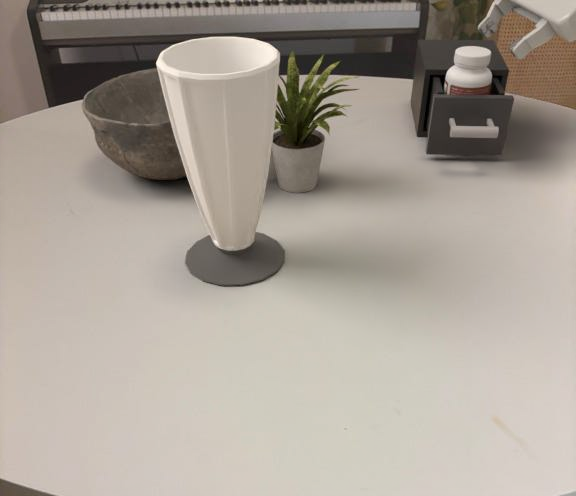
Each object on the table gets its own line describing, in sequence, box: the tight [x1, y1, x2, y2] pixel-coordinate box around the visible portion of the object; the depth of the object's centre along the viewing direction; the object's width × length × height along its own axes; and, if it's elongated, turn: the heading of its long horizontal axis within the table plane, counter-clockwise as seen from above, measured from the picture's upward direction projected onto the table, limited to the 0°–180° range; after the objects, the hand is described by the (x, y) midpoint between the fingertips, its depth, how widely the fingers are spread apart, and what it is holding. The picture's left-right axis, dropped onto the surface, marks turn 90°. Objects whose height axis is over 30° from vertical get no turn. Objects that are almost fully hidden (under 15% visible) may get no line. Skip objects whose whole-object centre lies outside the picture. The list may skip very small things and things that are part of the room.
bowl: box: [81, 67, 187, 181], centre depth 87 cm, size 21×21×10 cm
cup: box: [155, 36, 285, 287], centre depth 66 cm, size 12×12×22 cm
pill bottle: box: [443, 46, 492, 95], centre depth 88 cm, size 6×6×11 cm
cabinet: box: [410, 39, 510, 138], centre depth 98 cm, size 14×12×10 cm
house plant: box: [271, 50, 359, 194], centre depth 80 cm, size 14×14×16 cm
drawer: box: [425, 75, 515, 157], centre depth 90 cm, size 17×10×8 cm, turn 176°
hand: (497, 43), depth 84 cm, fingers open, 8 cm apart
